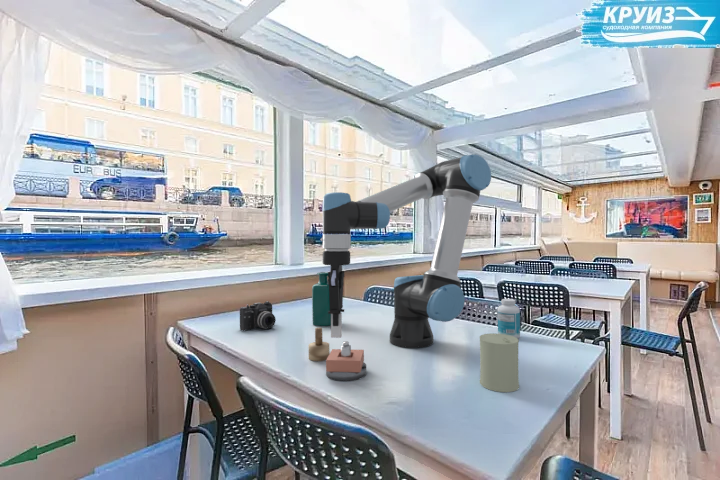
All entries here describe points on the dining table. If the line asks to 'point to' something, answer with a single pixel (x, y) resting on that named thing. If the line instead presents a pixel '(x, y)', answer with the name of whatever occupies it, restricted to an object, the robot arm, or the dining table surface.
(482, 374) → the can
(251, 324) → the camera
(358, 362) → the terracotta clay block
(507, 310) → the pill bottle
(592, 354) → the dining table surface
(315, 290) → the green bottle
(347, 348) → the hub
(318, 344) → the stand
